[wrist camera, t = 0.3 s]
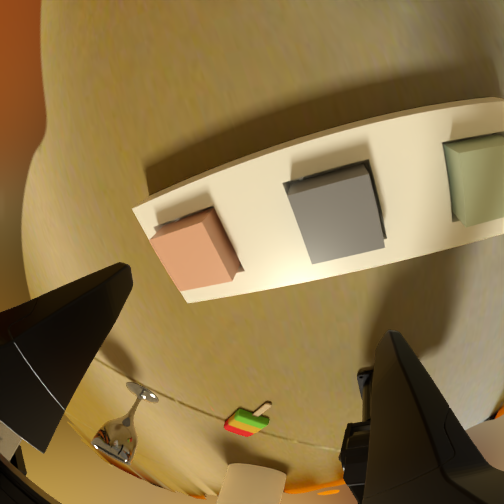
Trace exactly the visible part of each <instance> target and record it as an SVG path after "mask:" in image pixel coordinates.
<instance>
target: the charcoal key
mask: <svg viewBox="0 0 504 504" xmlns="http://www.w3.org/2000/svg"><path fill="white" fill-rule="evenodd" d="M287 197H288V199H289V202H290V205H291V207H292V210H293V213H294V215H295V218H296V221H297V224H298V226H299V229H300V232H301V235H302V237H303V240H304V243H305V246H306V249H307V252H308V254H309V257H310V260H311V263H312V264H317V263H321V262H326V261H330V260H334V259H339V258H343V257H348V256H352V255H356V254H361V253H365V252H369V251H373V250H378V249H382V248H385V245H384V239H383V234H382V229H381V224H380V219H379V214H378V210H377V205H376V201H375V197H374V193H373V189H372V185H371V181H370V177H369V173H368V172H367V170H366V168H365V166H364V164H363V163H362V164H358V165H354V166H350V167H347V168H343V169H339V170H335V171H332V172H328V173H324V174H321V175H317V176H314V177H310V178H307V179H303V180H300V181H296V182H293V183H291V186H290V189H289V192H288V195H287Z"/></svg>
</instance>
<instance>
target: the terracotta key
mask: <svg viewBox="0 0 504 504" xmlns="http://www.w3.org/2000/svg"><path fill="white" fill-rule="evenodd" d="M149 242H150V243H151V245H152V247H153V249H154V250H155V252H156V254H157V255H158V257H159V259H160V260H161V262H162V264H163V265H164V267H165V269H166V270H167V272H168V274H169V275H170V277H171V279H172V280H173V282H174V284H175V285H176V287H177V288H178V290H179V291H185V290H191V289H196V288H201V287H206V286H211V285H216V284H221V283H226V282H231V281H233V279H234V277H235V275H236V272H237V270H238V268H239V266H240V263H241V262H240V260H239V258H238V256H237V254H236V252H235V250H234V248H233V246H232V244H231V242H230V239H229V237H228V235H227V233H226V231H225V229H224V227H223V225H222V223H221V221H220V219H219V217H218V215H217V213H216V210H215V208H211V209H208V210H206V211H203V212H200V213H197V214H194V215H191V216H188V217H186V218H183V219H180V220H177V221H174V222H172V223H169V224H166V225H164V226H163V227H162V228H161V229H160V230H159V231H158V232H157V233H156V234H155V235H154V236H153V237H152V238H151V239H150V240H149Z"/></svg>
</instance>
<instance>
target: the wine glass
mask: <svg viewBox="0 0 504 504" xmlns="http://www.w3.org/2000/svg"><path fill="white" fill-rule="evenodd" d="M126 386H127V388H128V390H129V391H130V392H131V393H133V394H134V395H135V396H137V399H136V401H135V403H134V405H133V406H132V408H131V409H130V411H129V412H128V413H127V414H126V415H125V416H123V417H120V418H117V419H113V420H110V421H108V422H106V423H105V424H104V425H103V426H102V427H101V428H100V429H99V430H98V431H97V433H96V434H95V436H94V438H93V440H92V441H91V444H92V445H93V446H95V447H96V448H97V449H99V450H100V451H102V452H104V453H105V454H107V455H109V456H110V457H112V458H114V459H116V460H118V461H120V462H122V463H125V464H127V465H131V463H132V461H133V459H134V456H135V454H136V450H137V446H138V436H137V433H136V430H135V427H134V421H133V419H134V414H135V411H136V408H137V406H138V404H139V402H140V401H141V400H144V401H146V402H149V403H158V398H157V397H156V396H155V395H154V394H153V393H152V392H151V391H149V390H148V389H146V388H145V387H143V386H141V385H138V384H136V383H132V382H128V383H126Z"/></svg>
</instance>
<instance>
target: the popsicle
mask: <svg viewBox="0 0 504 504" xmlns="http://www.w3.org/2000/svg"><path fill="white" fill-rule="evenodd" d="M271 405H272V404H270V403H265V404H264V405H263V406H261V407H260V408H259V409H258V410H257V411H255V412H254V413H251V412H248V411H245V410H242V409H239V410H238V411H237V412H235V413H234V414H233V415H232V416H231V417H230V418H229V419H228V420H227V421H226V422H225V424H224V428H225V429H226V430H228V431H230V432H233V433H236V434H239V435H242V436H246V437H248V436H251V435H253V434H254V433H256V432H258V431H259V430H261V429H262V428H264V427H265V426H267V425H268V423H269V419H268V418H265V417H262V416H259V415H261V414H262V413H263V412H265V411H266V410H267V409H269V408H270V407H271Z"/></svg>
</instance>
